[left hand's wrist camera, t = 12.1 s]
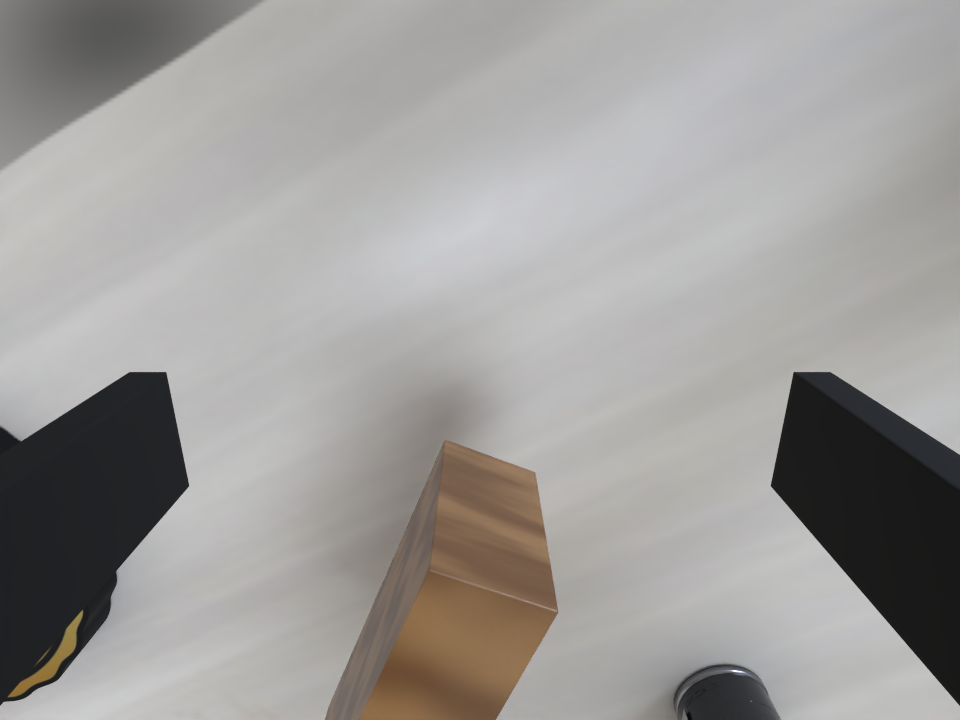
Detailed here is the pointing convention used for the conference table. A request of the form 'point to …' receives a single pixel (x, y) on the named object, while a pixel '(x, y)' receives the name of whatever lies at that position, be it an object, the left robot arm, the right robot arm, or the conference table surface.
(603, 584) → the conference table surface
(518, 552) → the box
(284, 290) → the conference table surface
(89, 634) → the sign
